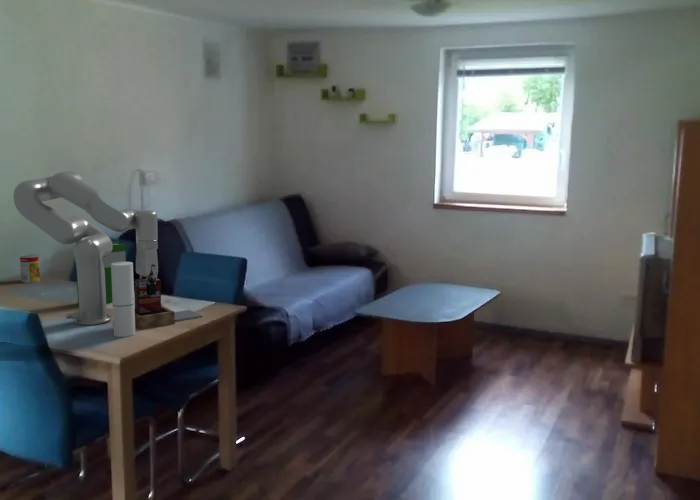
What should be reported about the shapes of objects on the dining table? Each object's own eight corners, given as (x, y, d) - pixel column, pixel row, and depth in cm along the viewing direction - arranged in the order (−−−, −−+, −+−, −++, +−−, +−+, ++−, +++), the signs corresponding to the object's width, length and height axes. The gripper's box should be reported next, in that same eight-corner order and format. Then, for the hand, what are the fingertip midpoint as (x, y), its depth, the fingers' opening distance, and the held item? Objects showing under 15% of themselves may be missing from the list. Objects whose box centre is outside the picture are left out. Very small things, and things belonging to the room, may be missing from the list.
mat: (175, 321, 256) (175, 320, 256) (163, 315, 264) (163, 313, 264) (202, 317, 263) (202, 315, 262) (189, 311, 271) (189, 309, 271)
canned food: (43, 279, 324) (41, 254, 322) (33, 283, 316) (32, 257, 315) (27, 279, 325) (26, 254, 323) (17, 282, 318) (16, 256, 316)
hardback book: (119, 297, 292) (117, 241, 288) (127, 300, 287) (125, 243, 283) (78, 303, 281) (75, 245, 277) (84, 306, 275) (81, 247, 271)
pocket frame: (139, 329, 245) (139, 317, 244) (125, 321, 255) (124, 309, 254) (174, 323, 253) (174, 311, 253) (159, 315, 264) (159, 304, 263)
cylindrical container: (137, 331, 243) (135, 261, 239) (132, 336, 236) (129, 265, 232) (117, 330, 243) (114, 261, 239) (111, 336, 236) (108, 265, 232)
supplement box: (138, 324, 250) (137, 281, 247) (134, 321, 254) (133, 279, 251) (162, 321, 255) (161, 279, 252) (157, 318, 259) (156, 277, 256)
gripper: (128, 241, 254) (129, 290, 257) (146, 248, 241) (147, 299, 244) (147, 240, 258) (148, 287, 261) (166, 247, 245) (167, 296, 248)
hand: (147, 292), depth 252 cm, fingers closed on supplement box, 5 cm apart
